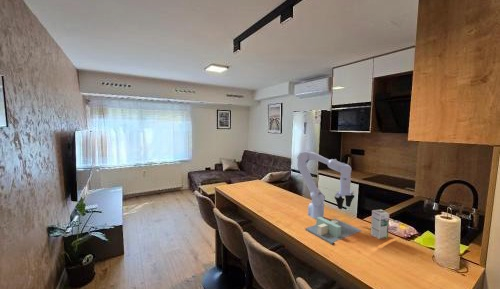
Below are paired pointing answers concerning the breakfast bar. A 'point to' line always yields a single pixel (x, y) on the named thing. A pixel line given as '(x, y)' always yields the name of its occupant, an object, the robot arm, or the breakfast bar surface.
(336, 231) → the cross plate
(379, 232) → the syrup box
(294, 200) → the breakfast bar surface
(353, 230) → the slotted base
